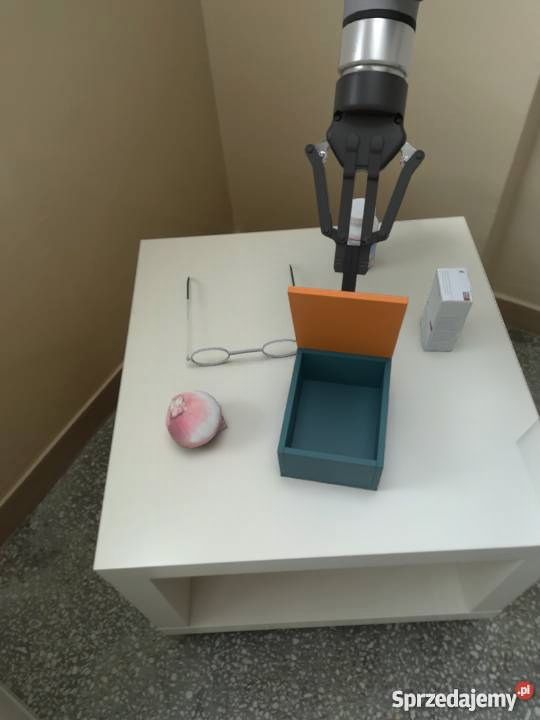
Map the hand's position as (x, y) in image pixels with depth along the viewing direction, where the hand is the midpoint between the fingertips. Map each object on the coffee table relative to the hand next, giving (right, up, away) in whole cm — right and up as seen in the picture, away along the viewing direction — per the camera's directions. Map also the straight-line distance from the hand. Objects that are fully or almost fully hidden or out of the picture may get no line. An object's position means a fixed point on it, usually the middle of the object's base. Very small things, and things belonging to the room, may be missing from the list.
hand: (346, 303), depth 60 cm
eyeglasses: (-13, +1, +25) cm, 29 cm away
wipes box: (0, -16, +13) cm, 21 cm away
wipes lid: (0, -3, +2) cm, 4 cm away
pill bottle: (+6, +11, +30) cm, 33 cm away
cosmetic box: (+17, -3, +20) cm, 26 cm away
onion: (-19, -16, +14) cm, 29 cm away
